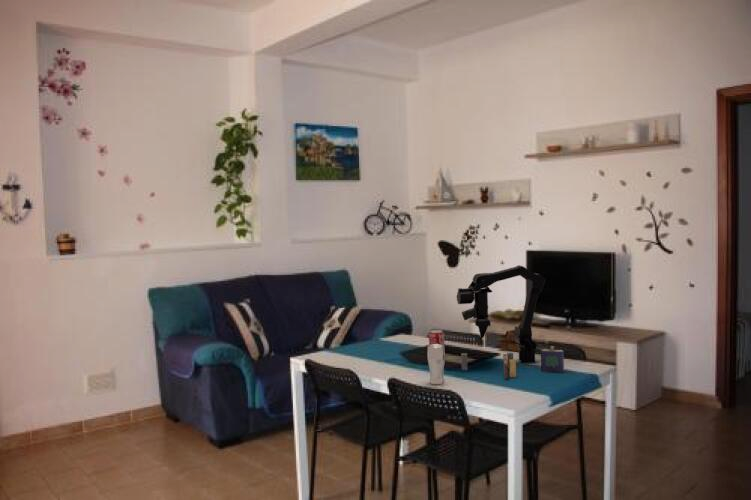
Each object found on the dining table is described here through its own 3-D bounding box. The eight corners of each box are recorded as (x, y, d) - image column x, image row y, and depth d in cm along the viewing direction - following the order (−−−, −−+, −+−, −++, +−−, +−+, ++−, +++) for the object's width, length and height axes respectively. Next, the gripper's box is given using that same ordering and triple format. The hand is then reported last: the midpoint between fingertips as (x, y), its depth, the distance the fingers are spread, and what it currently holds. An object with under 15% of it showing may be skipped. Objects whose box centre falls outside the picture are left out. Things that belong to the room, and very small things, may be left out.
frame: (512, 368, 268) (512, 352, 268) (516, 377, 255) (516, 361, 254) (461, 368, 270) (461, 353, 270) (462, 377, 257) (462, 361, 257)
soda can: (444, 354, 295) (443, 329, 294) (444, 358, 288) (444, 332, 287) (429, 354, 296) (428, 329, 295) (429, 358, 289) (428, 333, 288)
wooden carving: (497, 351, 296) (497, 331, 295) (498, 349, 301) (497, 328, 300) (533, 352, 292) (533, 331, 292) (533, 350, 297) (532, 329, 296)
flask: (563, 370, 262) (563, 345, 261) (564, 372, 259) (563, 347, 258) (541, 370, 264) (540, 345, 263) (540, 372, 261) (540, 346, 260)
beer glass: (427, 380, 256) (425, 344, 254) (443, 379, 256) (442, 343, 255) (429, 385, 249) (428, 348, 247) (447, 384, 249) (446, 347, 248)
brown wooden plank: (503, 367, 268) (503, 354, 268) (508, 367, 268) (508, 354, 267) (504, 378, 253) (504, 364, 252) (510, 378, 252) (509, 364, 252)
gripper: (461, 299, 283) (462, 333, 284) (463, 307, 264) (464, 343, 266) (486, 299, 282) (487, 333, 283) (490, 306, 263) (490, 342, 265)
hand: (482, 337), depth 274 cm, fingers closed
